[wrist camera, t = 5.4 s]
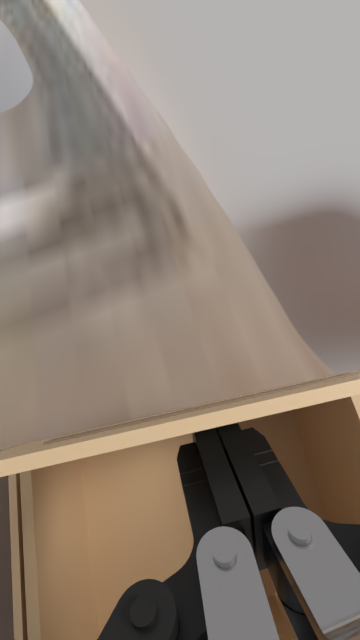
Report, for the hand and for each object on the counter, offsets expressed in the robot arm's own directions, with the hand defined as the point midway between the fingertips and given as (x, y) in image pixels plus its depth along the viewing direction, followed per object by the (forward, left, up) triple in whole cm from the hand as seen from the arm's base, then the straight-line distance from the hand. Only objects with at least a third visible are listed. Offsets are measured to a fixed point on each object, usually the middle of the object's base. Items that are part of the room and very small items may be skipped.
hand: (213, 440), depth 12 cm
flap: (-1, -2, -7) cm, 8 cm away
